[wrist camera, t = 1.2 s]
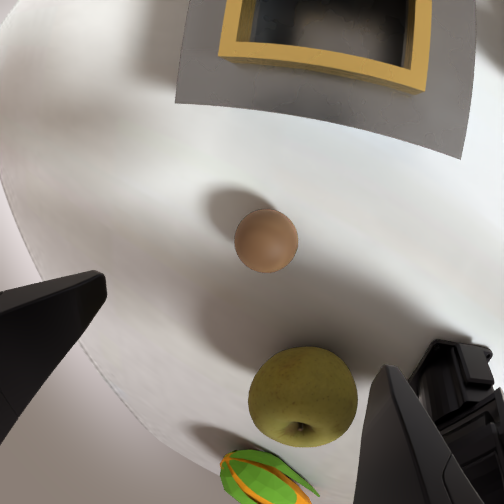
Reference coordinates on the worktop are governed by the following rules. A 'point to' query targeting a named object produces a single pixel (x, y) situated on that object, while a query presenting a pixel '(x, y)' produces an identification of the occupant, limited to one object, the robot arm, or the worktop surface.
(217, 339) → the worktop surface
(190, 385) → the worktop surface
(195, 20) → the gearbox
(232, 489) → the corn
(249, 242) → the bead
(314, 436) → the apple
